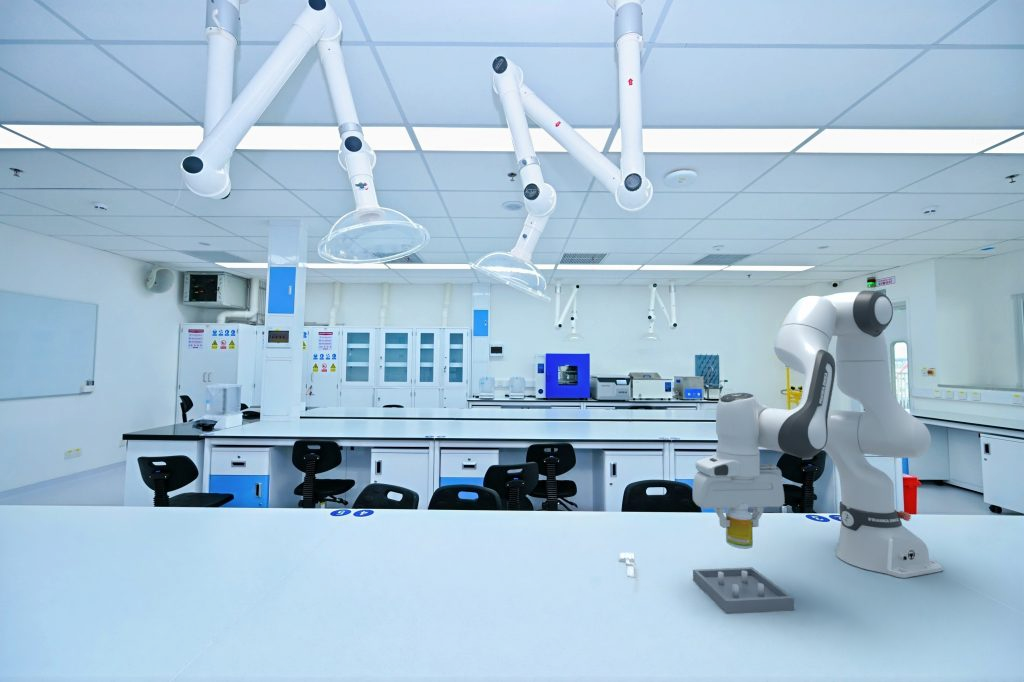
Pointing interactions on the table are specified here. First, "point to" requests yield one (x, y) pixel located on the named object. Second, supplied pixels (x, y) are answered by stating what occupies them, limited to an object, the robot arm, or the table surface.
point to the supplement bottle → (739, 527)
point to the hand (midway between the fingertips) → (739, 526)
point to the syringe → (628, 558)
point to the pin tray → (742, 590)
